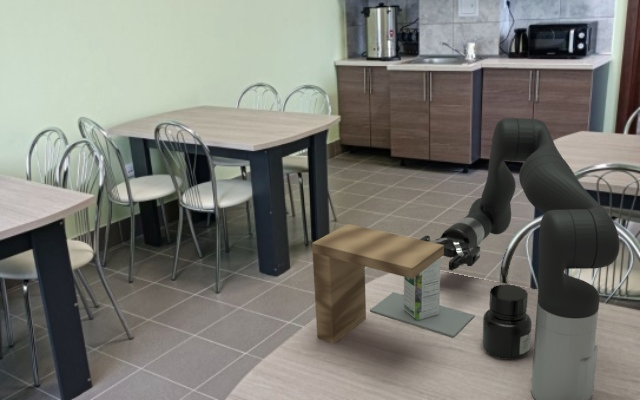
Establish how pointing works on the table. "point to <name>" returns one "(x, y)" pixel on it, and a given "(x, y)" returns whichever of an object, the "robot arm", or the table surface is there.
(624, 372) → the table surface
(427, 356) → the table surface
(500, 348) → the ink bottle
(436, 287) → the syrup box
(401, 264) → the shelf
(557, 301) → the robot arm
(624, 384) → the table surface
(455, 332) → the mat
